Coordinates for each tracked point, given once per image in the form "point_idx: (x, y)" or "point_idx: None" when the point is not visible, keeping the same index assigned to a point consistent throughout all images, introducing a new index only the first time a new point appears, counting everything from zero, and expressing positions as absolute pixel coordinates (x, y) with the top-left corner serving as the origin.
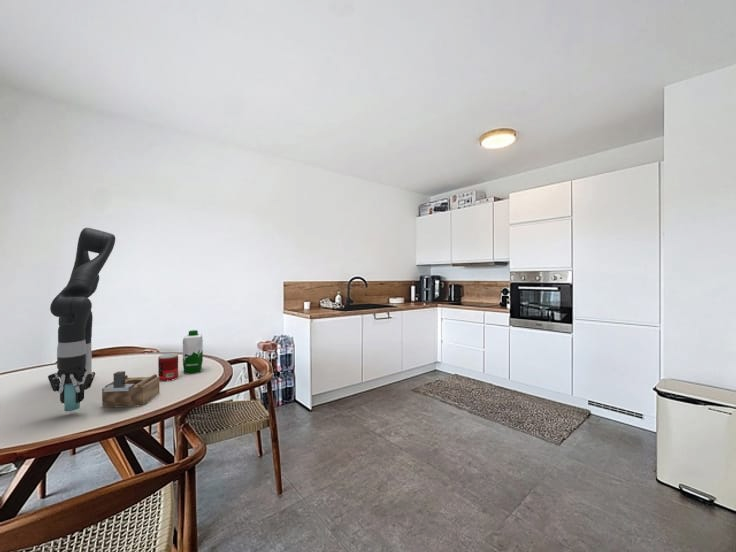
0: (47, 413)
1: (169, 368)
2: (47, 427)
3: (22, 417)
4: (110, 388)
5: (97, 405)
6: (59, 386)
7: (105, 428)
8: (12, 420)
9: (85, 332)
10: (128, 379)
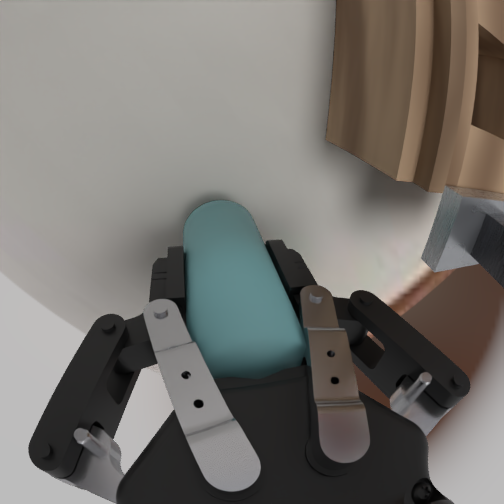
0: (67, 199)
1: None
2: None
3: (11, 240)
4: (458, 267)
5: (279, 97)
6: (122, 355)
7: None
8: (8, 265)
9: None
10: (470, 2)
